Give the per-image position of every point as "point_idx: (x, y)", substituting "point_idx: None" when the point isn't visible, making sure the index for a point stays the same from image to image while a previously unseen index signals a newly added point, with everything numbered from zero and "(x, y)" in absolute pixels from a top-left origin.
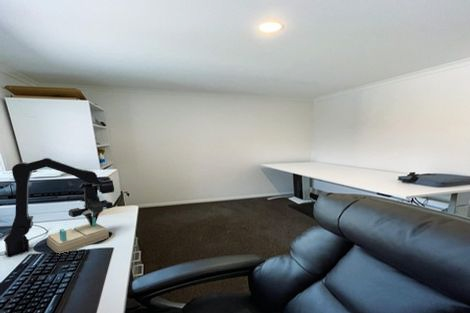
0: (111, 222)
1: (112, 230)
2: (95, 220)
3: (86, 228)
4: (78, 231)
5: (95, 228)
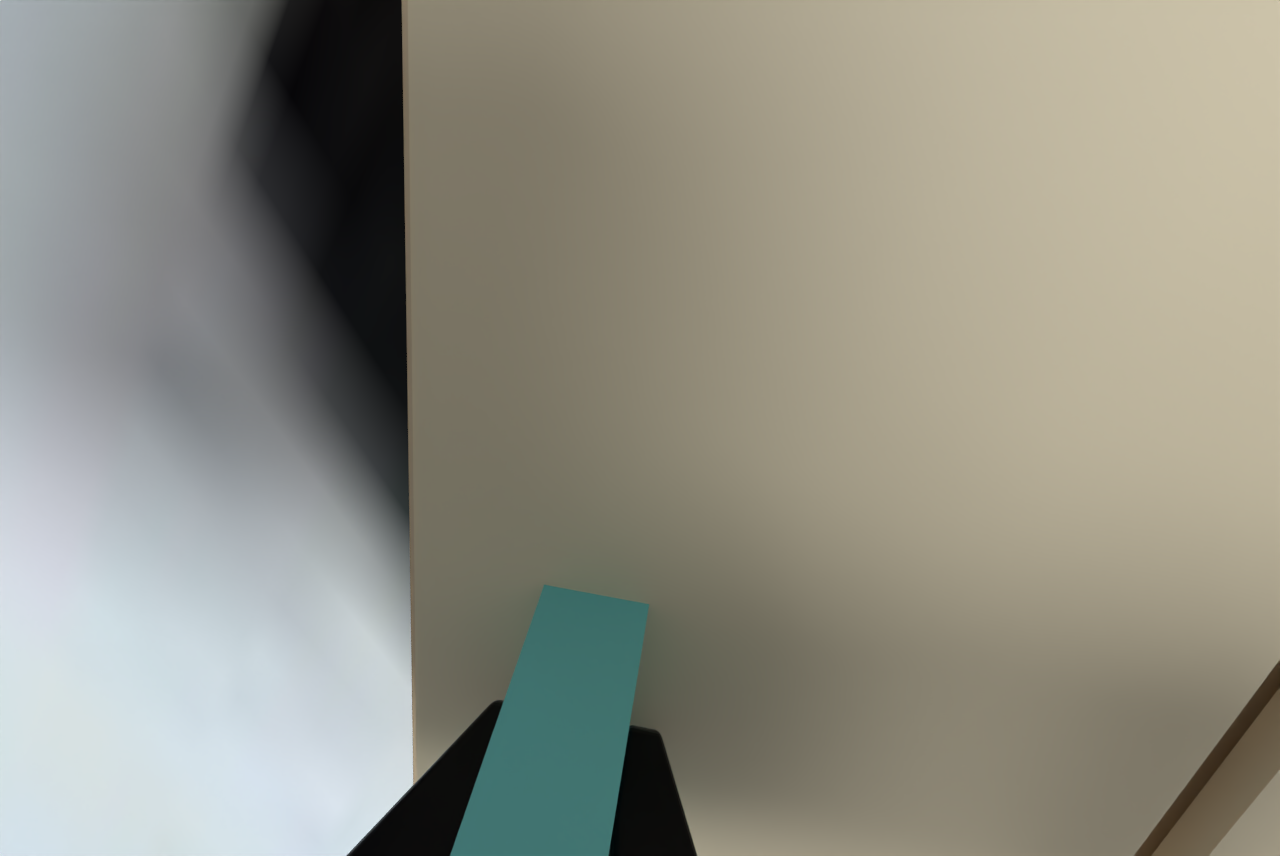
0: (42, 719)
1: (174, 261)
2: (479, 807)
3: (930, 655)
4: (1210, 701)
5: (781, 281)
